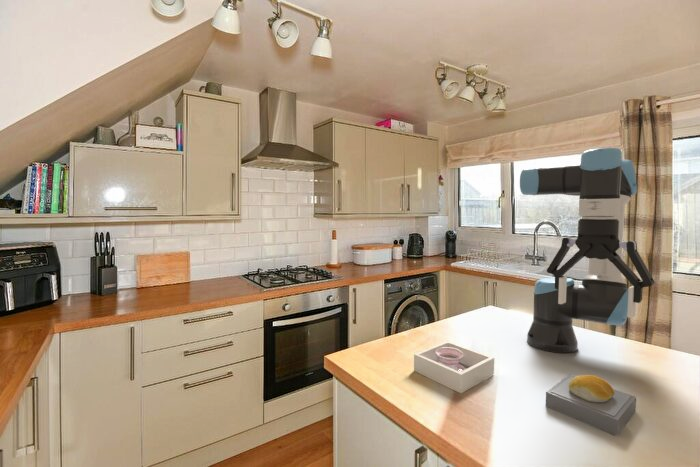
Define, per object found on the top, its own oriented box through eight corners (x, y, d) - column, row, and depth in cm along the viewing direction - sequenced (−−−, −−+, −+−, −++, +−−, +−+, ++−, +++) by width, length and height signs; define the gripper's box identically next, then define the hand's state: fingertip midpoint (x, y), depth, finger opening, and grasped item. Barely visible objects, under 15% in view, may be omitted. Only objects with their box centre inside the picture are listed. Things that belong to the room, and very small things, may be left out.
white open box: (413, 370, 101) (413, 354, 100) (447, 356, 111) (447, 340, 110) (460, 393, 88) (461, 374, 88) (493, 374, 98) (494, 357, 98)
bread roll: (618, 395, 80) (619, 379, 80) (602, 408, 75) (603, 390, 75) (579, 380, 87) (580, 365, 87) (562, 391, 82) (562, 375, 82)
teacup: (463, 387, 91) (464, 365, 91) (421, 376, 98) (421, 355, 97) (474, 369, 101) (474, 349, 101) (435, 360, 108) (435, 341, 107)
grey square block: (545, 406, 82) (546, 391, 82) (568, 387, 91) (569, 373, 91) (617, 436, 71) (617, 419, 71) (635, 411, 80) (636, 396, 79)
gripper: (533, 217, 85) (531, 300, 87) (668, 219, 66) (662, 327, 67) (547, 216, 90) (544, 295, 92) (676, 218, 70) (670, 319, 72)
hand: (594, 309), depth 79 cm, fingers open, 13 cm apart
